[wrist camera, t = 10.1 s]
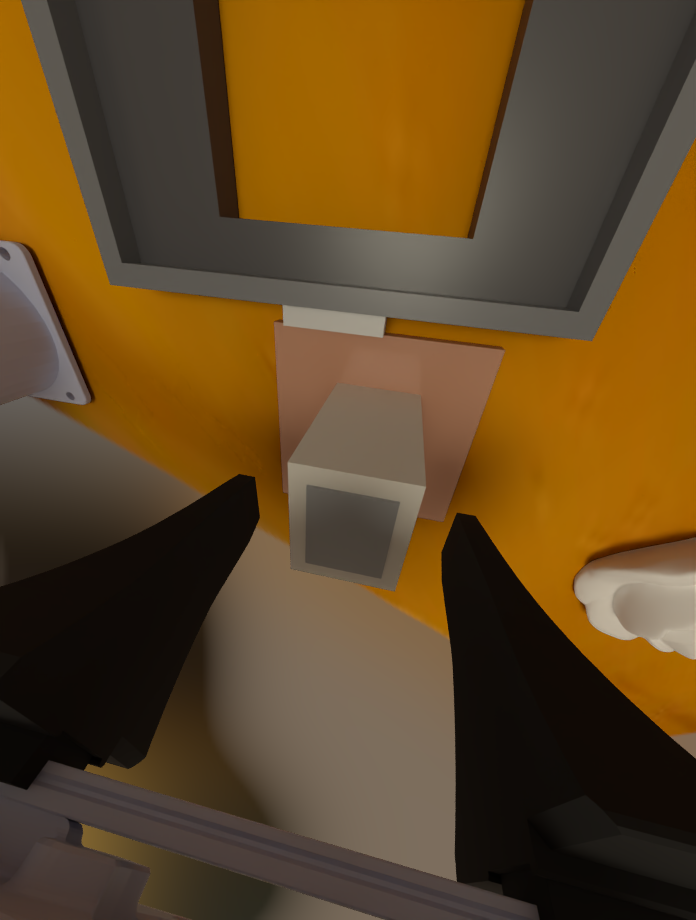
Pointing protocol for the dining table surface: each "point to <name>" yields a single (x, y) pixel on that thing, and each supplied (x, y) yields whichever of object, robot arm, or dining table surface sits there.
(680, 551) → the rose
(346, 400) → the block
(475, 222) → the equipment case
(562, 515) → the dining table surface
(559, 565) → the dining table surface
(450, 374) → the terracotta tile
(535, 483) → the dining table surface
